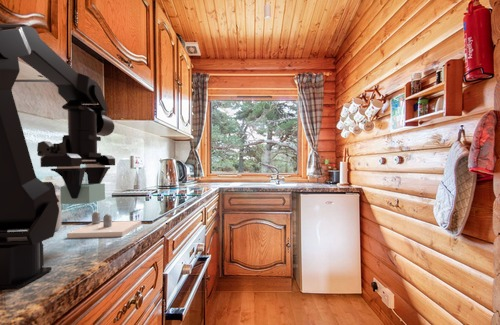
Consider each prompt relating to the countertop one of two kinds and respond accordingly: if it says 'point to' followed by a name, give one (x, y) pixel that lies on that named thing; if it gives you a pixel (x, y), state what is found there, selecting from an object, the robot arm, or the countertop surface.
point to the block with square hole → (84, 194)
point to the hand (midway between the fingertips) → (84, 196)
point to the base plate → (104, 227)
